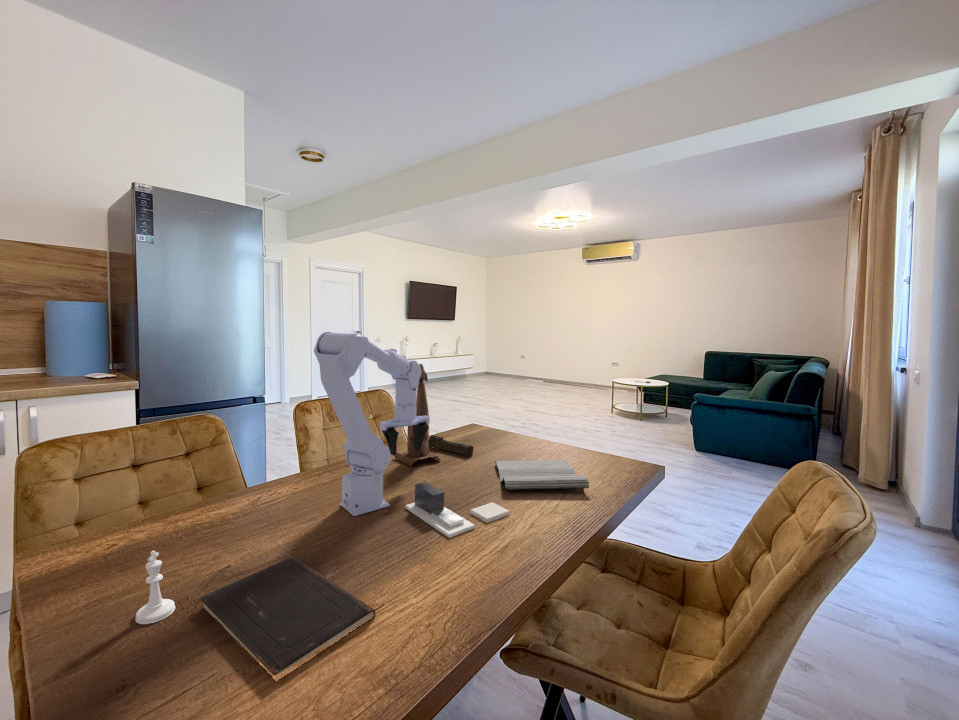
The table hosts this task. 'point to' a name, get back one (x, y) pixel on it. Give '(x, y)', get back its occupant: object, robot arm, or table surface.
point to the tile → (489, 512)
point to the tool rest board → (436, 524)
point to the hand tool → (450, 446)
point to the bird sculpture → (421, 410)
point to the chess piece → (154, 596)
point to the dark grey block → (435, 504)
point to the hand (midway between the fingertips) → (405, 451)
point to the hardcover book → (286, 612)
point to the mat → (539, 475)
